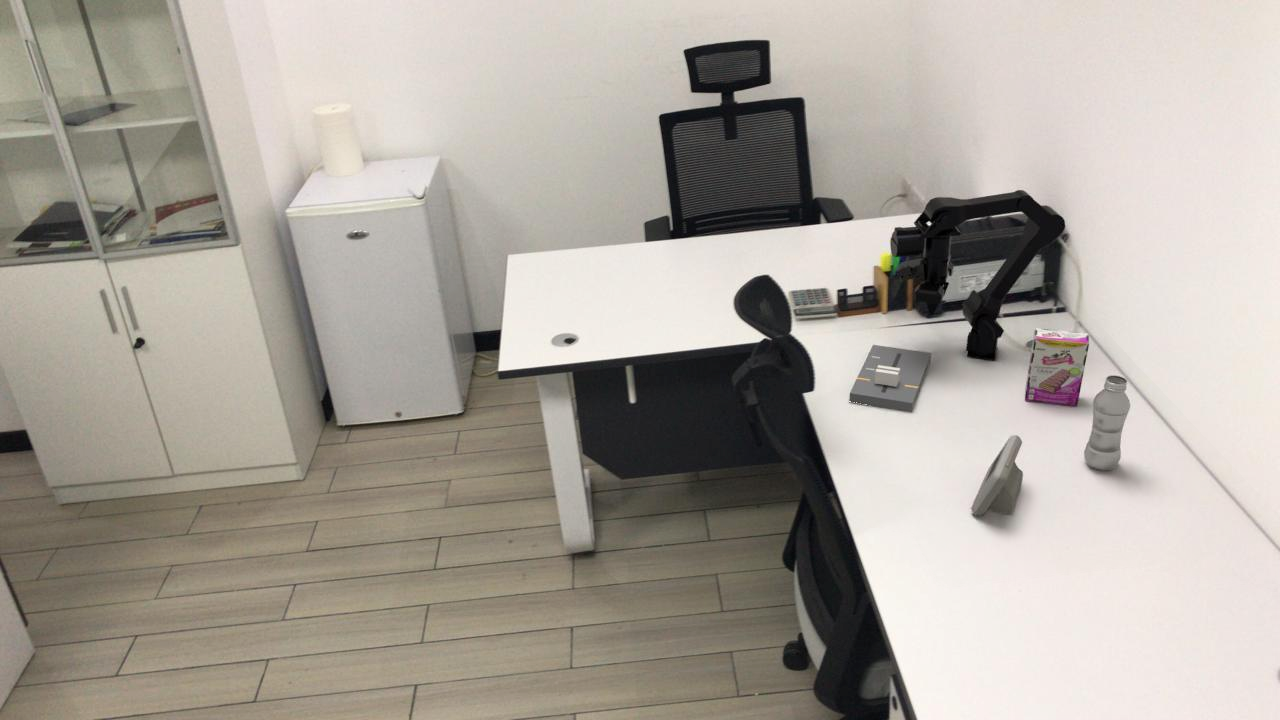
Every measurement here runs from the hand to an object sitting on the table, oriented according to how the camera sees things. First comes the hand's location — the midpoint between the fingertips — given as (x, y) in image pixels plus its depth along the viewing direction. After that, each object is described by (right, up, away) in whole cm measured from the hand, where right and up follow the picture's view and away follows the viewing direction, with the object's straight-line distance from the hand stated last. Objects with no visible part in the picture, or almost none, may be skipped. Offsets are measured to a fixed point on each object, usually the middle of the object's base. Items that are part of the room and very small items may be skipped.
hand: (931, 313), depth 238 cm
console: (-10, -16, -3) cm, 19 cm away
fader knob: (-13, -16, -8) cm, 22 cm away
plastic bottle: (+24, -32, -36) cm, 54 cm away
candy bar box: (+23, -20, -14) cm, 33 cm away
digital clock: (0, -38, -43) cm, 57 cm away
